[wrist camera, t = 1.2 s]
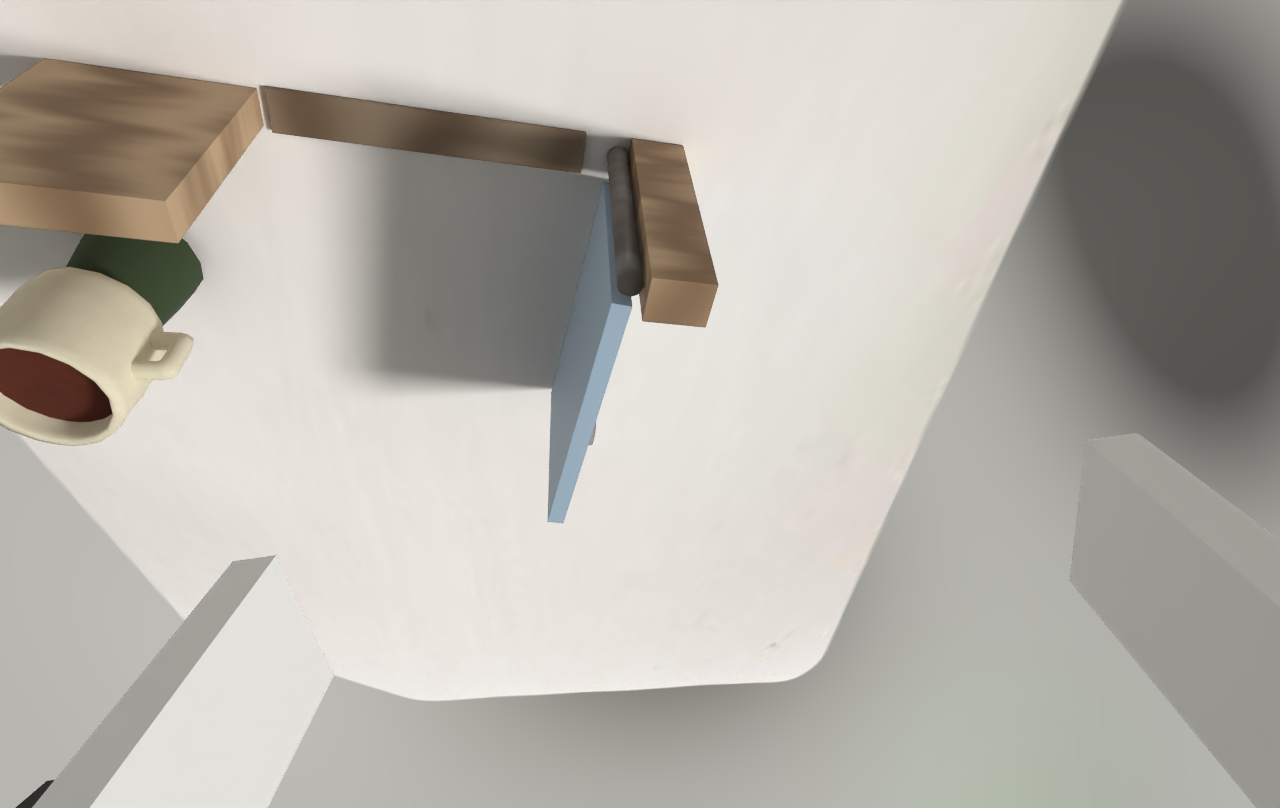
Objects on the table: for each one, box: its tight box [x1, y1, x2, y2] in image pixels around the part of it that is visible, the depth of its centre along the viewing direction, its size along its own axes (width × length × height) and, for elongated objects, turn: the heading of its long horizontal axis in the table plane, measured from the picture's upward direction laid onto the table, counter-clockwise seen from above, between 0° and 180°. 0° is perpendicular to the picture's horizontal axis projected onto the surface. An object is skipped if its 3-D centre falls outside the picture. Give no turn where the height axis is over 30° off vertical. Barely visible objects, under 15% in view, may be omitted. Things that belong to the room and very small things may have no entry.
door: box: [548, 182, 632, 523], centre depth 44 cm, size 18×2×12 cm, turn 165°
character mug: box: [0, 234, 203, 446], centre depth 40 cm, size 11×7×13 cm, turn 84°
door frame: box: [0, 58, 718, 327], centre depth 35 cm, size 33×2×14 cm, turn 80°
